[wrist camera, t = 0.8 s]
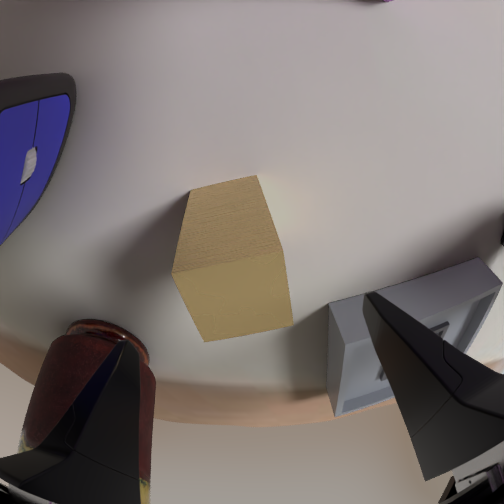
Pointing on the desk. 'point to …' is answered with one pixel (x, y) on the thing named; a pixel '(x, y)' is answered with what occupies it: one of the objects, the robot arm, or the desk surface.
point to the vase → (76, 377)
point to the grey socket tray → (419, 307)
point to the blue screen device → (31, 140)
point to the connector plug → (231, 262)
